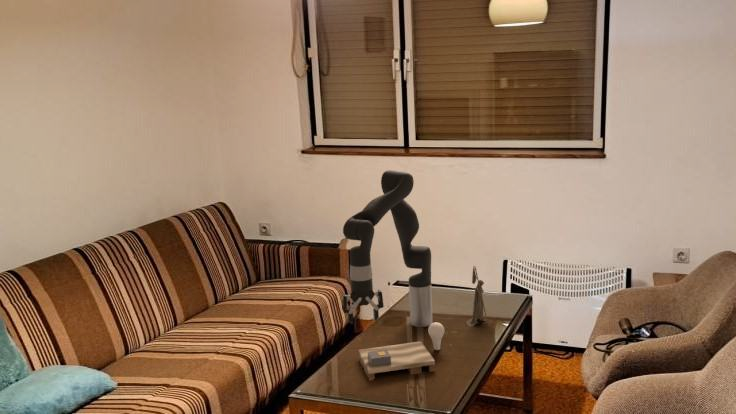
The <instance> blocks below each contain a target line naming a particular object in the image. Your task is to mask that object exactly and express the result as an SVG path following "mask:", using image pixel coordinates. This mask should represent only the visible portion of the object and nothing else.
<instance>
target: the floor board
mask: <svg viewBox="0 0 736 414" xmlns="http://www.w3.org/2000/svg"><path fill="white" fill-rule="evenodd" d="M379 350H387V351H388V353H389V354H390V356H391V364H388V365H381V366H374V367H372V366H371V364H370V363H369V361H368V352H372V351H379ZM358 358H359V359H358V360H359V363H360V364H361V366H362V369H363V368H364V369H363V370H364V373H365V375H366V376H367V378H369V379H368V381H369V380H370V381H373V380H372V379H375V380H376V377H375V374H378V373H379V374H380V373H386V372H391V371H399V370H405V369H407V371H408V373H409V375H411V374H412V375H418V374H422V373H423V371H422V367H425V368H426V369H427V371H429V372H436V361H435V359H434V357H433V356H432V354H431V353H430V352H429V351H428V349H427V348H426V346H425V345H424V344H423V342H422V341H420V340H419V341H414V342H413V341H412V342H406V343H399V344H393V345H392V344H391V345H384V346H378V347H370V348H368V347H367V348H362V349H358Z"/></svg>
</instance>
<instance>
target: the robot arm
mask: <svg viewBox="0 0 736 414" xmlns="http://www.w3.org/2000/svg"><path fill="white" fill-rule="evenodd" d="M380 185H381V190H382V192H383V194H382V195H379V196H378V197H375V198H373V199H371V201H369V202H368V203H367V204H366V205H365V207H364V208H363V209H362V210H361V211H359V212H357V213H355V214H354V215H352V216H351V217H349V218H348V219H347V220H346V221H345V222H344V225H343V228H342V232H343V236H344V237H345V238H346V239H347V240H350V241H351V240H352V241H360V244H359V245H357V246H353V247H351V248H350V249H349V261H350V262H349V267H350V268H349V276H350V277H349V278H350V279H349V280H350V294H345V293H343V294H342V296H341V310H342V312H343V313H345V314H347V321H348V322H349V323H350V324H351V325H353V324H354V315H353V313H354V310H355V309H356V308H357V307H362V306H368V305H371V307H372V308H373V310H372V311H373V320H374V321H378V319H379V310H380V309H383V308H384V298H383V292H382V290H381V289H377V291H376V290H375V291H374V290H373V289H374V287H373V269H372V261H371V250H372V244H373V240H374V236H375V226H377V225H378V224H379V223H380V222H381V220H382V219H383V218H384V216H386V214H388V213H389V212H390V213H391V216H392V219H393V224H394V226H395V230H396V233H397V235H398V239H399V242H400V246H401V253H402V258H403V263H404V265H405V267H406V268H409V269H417V270H421V272H419V273H416V274H413V275H411V276H409V278H408V293H409V294H408V295H409V300H408V301H409V316H410V318H409V319H410V325H411V326H413V327H416V328H425V327H429V326H430V325H431V324H432V323H434V322H433V302H432V301H433V300H432V299H433V298H432V251H431V249H430V247H429V246H420V245H413V244H412V242H413V240H414V239H415V237H416V235H418V232H419V230H420V223H419V218H418V215H417V212H416V211H415V209H414V208H413V207H412V206H411V205H410V204H409V203H408V202H407V201H406V200H405V199H406V198H408V196H409V195H411V192H412V191H413V188H414V177H413V175H412V174H411V173H410V172H406V171H400V170H393V169H389V170H385V171H384V172H383V173H382V175H381V179H380ZM374 297H376V298H377V304H376V303H375V302H374V301H373V299H374ZM349 300H351V301H350V305H349V306H348V302H349Z"/></svg>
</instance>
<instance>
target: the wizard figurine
mask: <svg viewBox="0 0 736 414" xmlns="http://www.w3.org/2000/svg"><path fill="white" fill-rule="evenodd" d="M471 275H472V276H471V277H472V278H471V279H472V280H471V283H472V284H473V285H475V284H476V282H477V285H476V286H475V288H474V298H473V306H472V307H473V309H472V317H471V318H470V319H468V320H467V321H466V325H467V326H468V327H474V326H475V325H476V324H477V325H478V324H479V322H478V320H479V319H480V321H481V322H483V321H484V322H487V323H488V322H489V321H488V316H487V311H486V308H485V303H484V298H483V294H484V289H483V286H484V284H485V282H484V281H483V280H482V279H479V276H478V272H477V268H476V265H473V268H472V274H471ZM484 316H485V319H484Z"/></svg>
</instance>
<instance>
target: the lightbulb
mask: <svg viewBox="0 0 736 414" xmlns="http://www.w3.org/2000/svg"><path fill="white" fill-rule="evenodd" d="M427 331H428V335H429V337H430V338H431V342H432V344H433V346H432V347H433V349H434V350H435V351H439V350H441V343H442V339H443V337H444V334H445V327H444V325H443V324H442V323H440V322H435V321H434V322H433V323H432V324H431V325H430V326H428V330H427Z"/></svg>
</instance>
